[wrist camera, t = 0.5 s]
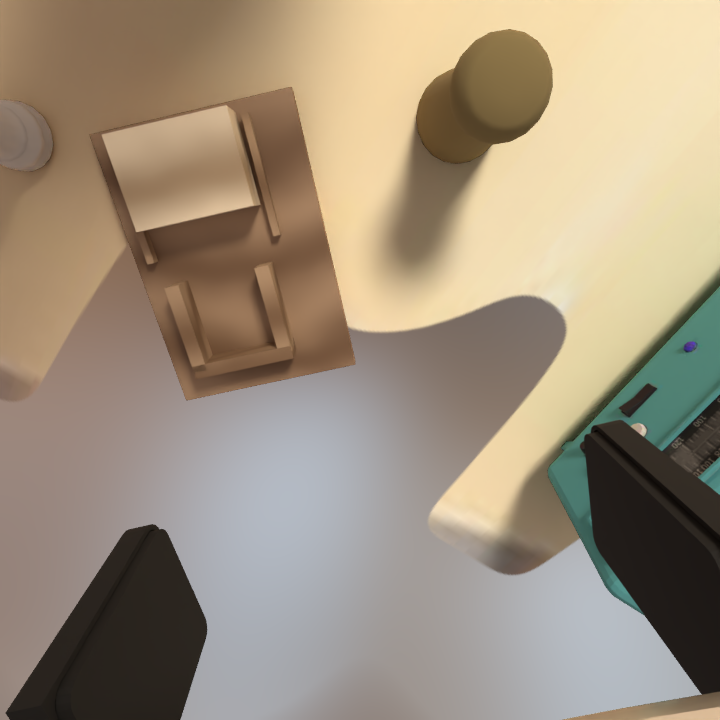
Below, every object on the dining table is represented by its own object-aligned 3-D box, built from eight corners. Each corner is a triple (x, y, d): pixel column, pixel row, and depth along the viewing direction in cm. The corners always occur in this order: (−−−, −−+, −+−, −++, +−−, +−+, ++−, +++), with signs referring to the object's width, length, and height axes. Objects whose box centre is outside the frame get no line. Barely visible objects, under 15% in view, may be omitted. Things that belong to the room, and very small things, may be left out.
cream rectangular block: (121, 139, 32) (101, 134, 30) (235, 112, 32) (226, 105, 29) (152, 229, 34) (136, 232, 32) (260, 204, 34) (253, 205, 31)
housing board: (97, 136, 33) (71, 130, 30) (293, 90, 33) (287, 79, 30) (190, 394, 40) (177, 412, 37) (355, 359, 39) (356, 374, 36)
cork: (519, 107, 34) (598, 67, 23) (464, 181, 35) (514, 174, 25) (453, 48, 32) (506, -23, 22) (399, 127, 34) (423, 96, 23)
